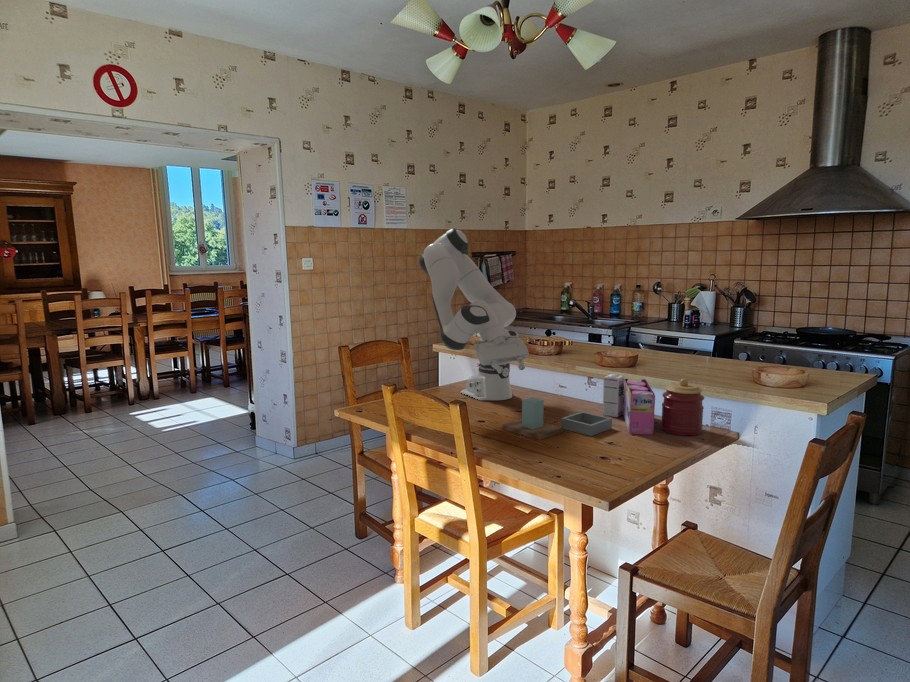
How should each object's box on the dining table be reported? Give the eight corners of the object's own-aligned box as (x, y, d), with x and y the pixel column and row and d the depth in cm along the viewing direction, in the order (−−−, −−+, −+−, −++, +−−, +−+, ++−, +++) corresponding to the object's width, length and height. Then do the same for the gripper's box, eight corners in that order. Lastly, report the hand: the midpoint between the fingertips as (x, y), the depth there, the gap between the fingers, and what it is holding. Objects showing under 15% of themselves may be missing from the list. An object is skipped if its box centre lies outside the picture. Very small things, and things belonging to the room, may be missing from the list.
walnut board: (502, 429, 196) (502, 424, 196) (525, 421, 204) (525, 417, 204) (539, 440, 185) (539, 435, 184) (562, 432, 193) (562, 427, 192)
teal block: (521, 425, 194) (522, 399, 193) (532, 423, 198) (532, 397, 196) (533, 429, 191) (533, 402, 189) (543, 426, 194) (543, 400, 193)
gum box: (622, 413, 214) (623, 377, 212) (644, 414, 212) (646, 378, 210) (628, 433, 191) (630, 393, 189) (654, 435, 189) (656, 394, 187)
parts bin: (561, 428, 197) (561, 418, 196) (581, 421, 205) (582, 411, 204) (591, 436, 188) (591, 425, 187) (611, 428, 196) (612, 418, 195)
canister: (674, 422, 203) (677, 372, 200) (710, 431, 192) (713, 379, 190) (652, 429, 195) (655, 377, 192) (688, 439, 185) (691, 384, 182)
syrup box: (617, 417, 209) (619, 378, 206) (602, 415, 212) (603, 376, 210) (623, 414, 213) (625, 375, 211) (608, 411, 217) (609, 373, 214)
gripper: (475, 336, 200) (492, 369, 194) (520, 331, 212) (538, 362, 205) (467, 347, 205) (484, 379, 198) (512, 342, 216) (530, 372, 210)
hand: (512, 370), depth 202 cm, fingers open, 8 cm apart
